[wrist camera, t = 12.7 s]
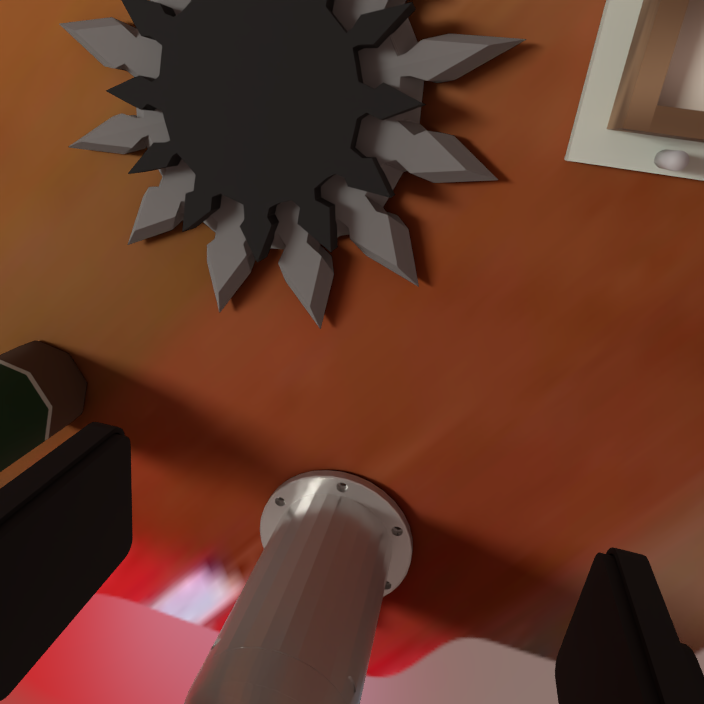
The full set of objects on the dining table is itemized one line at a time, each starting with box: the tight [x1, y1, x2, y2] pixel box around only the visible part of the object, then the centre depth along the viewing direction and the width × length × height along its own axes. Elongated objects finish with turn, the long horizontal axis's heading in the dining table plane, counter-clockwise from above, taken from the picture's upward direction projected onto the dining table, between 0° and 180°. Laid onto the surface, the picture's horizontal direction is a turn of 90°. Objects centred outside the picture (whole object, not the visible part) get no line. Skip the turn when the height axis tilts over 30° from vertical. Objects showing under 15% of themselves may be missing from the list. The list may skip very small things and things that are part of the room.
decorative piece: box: [60, 0, 526, 329], centre depth 34 cm, size 30×4×30 cm
